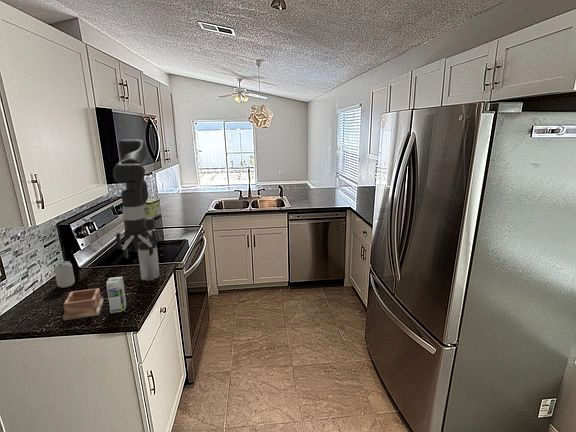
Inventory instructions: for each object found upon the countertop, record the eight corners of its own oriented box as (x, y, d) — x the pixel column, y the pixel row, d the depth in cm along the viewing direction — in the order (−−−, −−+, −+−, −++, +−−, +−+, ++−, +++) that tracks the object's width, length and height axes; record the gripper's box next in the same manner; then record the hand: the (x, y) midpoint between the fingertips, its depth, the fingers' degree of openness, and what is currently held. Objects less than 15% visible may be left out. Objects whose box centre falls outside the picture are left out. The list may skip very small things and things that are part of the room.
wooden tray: (71, 305, 151) (69, 291, 149) (103, 300, 155) (101, 286, 154) (63, 320, 139) (60, 305, 138) (98, 315, 144) (96, 300, 142)
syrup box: (110, 313, 145) (105, 283, 141) (112, 306, 150) (108, 277, 146) (124, 311, 146) (120, 281, 143) (126, 305, 152) (123, 275, 148)
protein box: (140, 219, 289) (138, 202, 285) (151, 215, 303) (149, 198, 299) (151, 220, 287) (149, 202, 282) (161, 215, 301) (160, 198, 297)
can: (56, 284, 171) (52, 262, 167) (73, 280, 175) (70, 259, 172) (58, 289, 165) (54, 267, 162) (76, 285, 170) (72, 263, 167)
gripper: (154, 212, 132) (158, 251, 137) (114, 215, 128) (119, 255, 132) (154, 217, 126) (158, 257, 130) (111, 220, 121) (117, 262, 125)
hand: (138, 256), depth 131 cm, fingers open, 8 cm apart
